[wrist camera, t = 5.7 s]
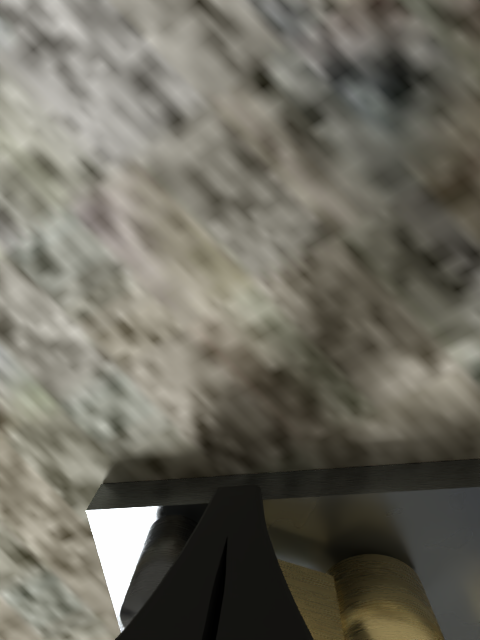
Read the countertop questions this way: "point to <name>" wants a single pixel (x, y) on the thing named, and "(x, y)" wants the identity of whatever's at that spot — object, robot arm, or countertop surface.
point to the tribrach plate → (326, 525)
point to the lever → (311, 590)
